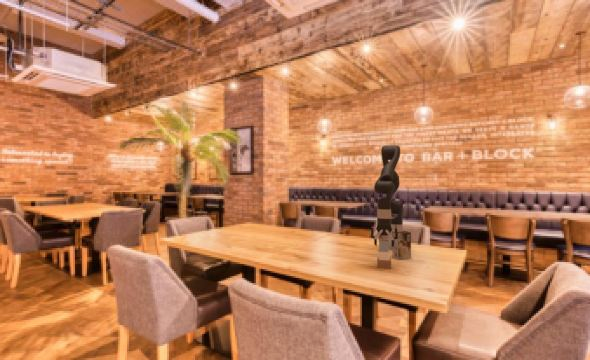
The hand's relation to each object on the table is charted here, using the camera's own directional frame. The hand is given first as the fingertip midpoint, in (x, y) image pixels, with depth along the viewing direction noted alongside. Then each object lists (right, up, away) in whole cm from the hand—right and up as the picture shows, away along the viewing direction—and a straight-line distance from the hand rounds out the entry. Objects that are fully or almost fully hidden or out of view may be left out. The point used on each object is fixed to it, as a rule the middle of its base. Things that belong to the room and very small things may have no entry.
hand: (384, 246), depth 163 cm
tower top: (0, -7, 0) cm, 7 cm away
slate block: (0, -3, 0) cm, 3 cm away
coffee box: (+16, -11, +18) cm, 26 cm away
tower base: (0, -12, 0) cm, 12 cm away
